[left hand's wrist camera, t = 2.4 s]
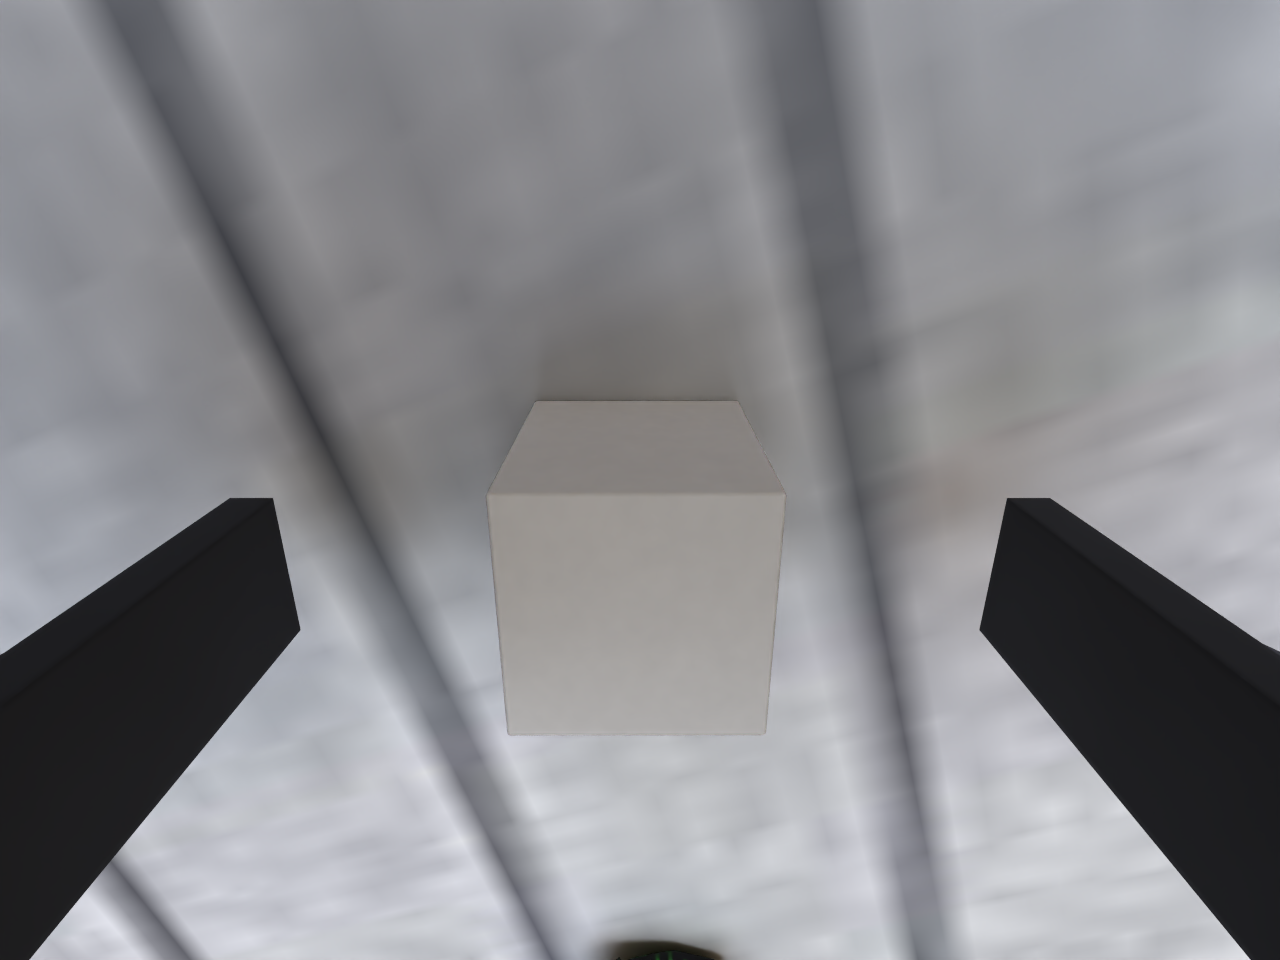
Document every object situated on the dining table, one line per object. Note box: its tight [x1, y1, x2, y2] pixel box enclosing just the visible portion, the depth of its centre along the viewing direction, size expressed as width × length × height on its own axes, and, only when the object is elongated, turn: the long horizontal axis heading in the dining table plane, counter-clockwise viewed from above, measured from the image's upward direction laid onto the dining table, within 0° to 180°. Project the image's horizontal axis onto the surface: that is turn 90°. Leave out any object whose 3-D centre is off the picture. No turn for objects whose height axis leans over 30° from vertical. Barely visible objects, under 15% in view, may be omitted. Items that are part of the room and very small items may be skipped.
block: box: [486, 401, 786, 736], centre depth 13 cm, size 4×4×5 cm
